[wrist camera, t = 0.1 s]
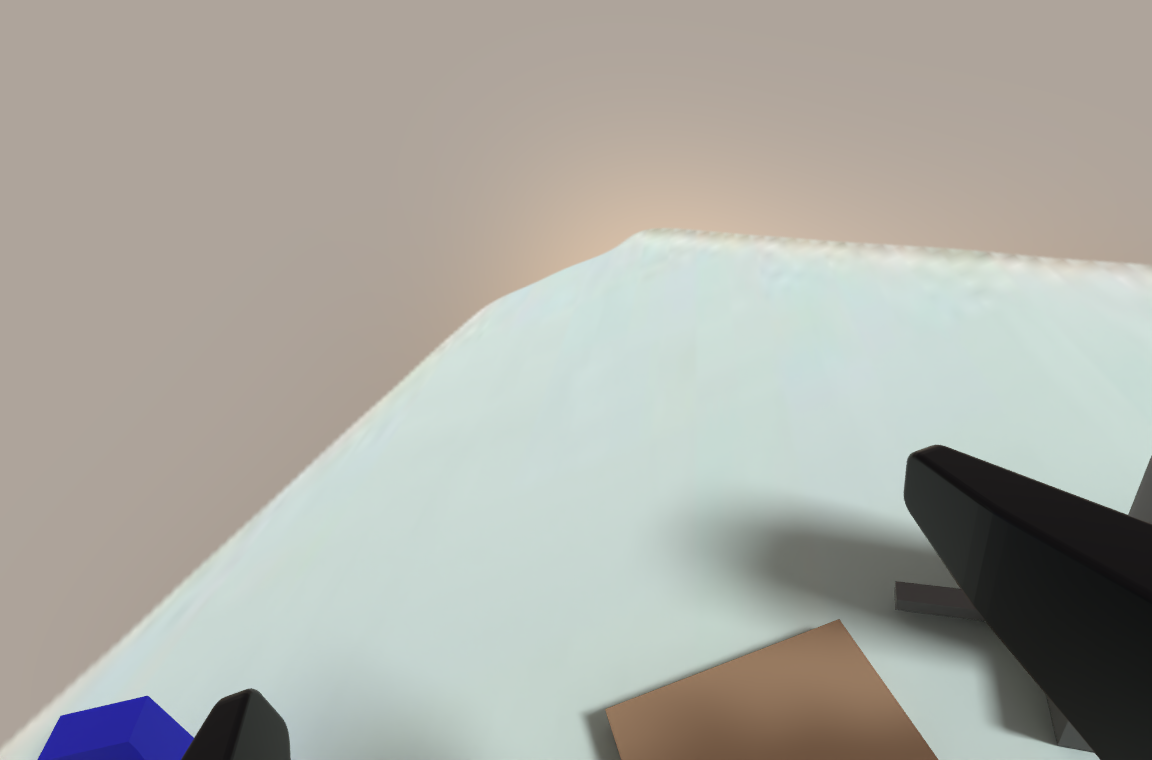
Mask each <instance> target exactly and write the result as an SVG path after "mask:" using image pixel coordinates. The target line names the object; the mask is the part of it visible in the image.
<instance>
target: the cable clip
mask: <svg viewBox="0 0 1152 760" xmlns="http://www.w3.org/2000/svg"><path fill="white" fill-rule="evenodd" d="M193 739H194V738H193V737H192V736H191V735H190V734H189V733H188V732H187V731H186V730H185V729H184V728H183V727H181V726H180V725H179V724H178V723H177V722H176V721H175V720H174V719H173V718H172V717H171V716H169V715H168V714H167V713H166V712H165V711H164V710H163V709H162V708H161V707H160V706H159V705H158V704H156V703H155V702H154V701H153V700H152V699H151V698H150V697H149V696H144V697H140V698H136V699H131V700H127V701H123V702H118V703H114V704H110V705H105V706H101V707H97V708H92V709H88V710H84V711H79V712H75V713H71V714H66V715H62V716H60V718H59V720H58V722H57V724H56V725H55V727H54V729H53V731H52V733H51V735H50V737H49V739H48V741H47V743H46V745H45V747H44V748H43V750H42V752H41V754H40V756H39V758H38V760H181V759H182V757H183V755H184V754H185V752H186V751H187V749H188V747H189V746H190V744H191V743H192V741H193Z"/></svg>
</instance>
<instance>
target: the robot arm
mask: <svg viewBox="0 0 1152 760" xmlns="http://www.w3.org/2000/svg"><path fill="white" fill-rule="evenodd" d="M904 500H905V504H906V506H907V508H908V510H909V512H910V514H911V515H912V517H913V518H914V520H915V521H916V523H917V524H918V526H919V527H920V529H921V530H922V532H923V533H924V535H925V536H926V538H927V539H928V540H929V542H930V543H931V545H932V546H933V548H934V549H935V551H936V552H937V554H938V555H939V557H940V558H941V560H942V561H943V563H944V564H945V566H946V567H947V569H948V570H949V572H950V573H951V575H952V576H953V578H954V579H955V581H956V582H957V584H958V585H959V587H960V588H961V590H962V591H963V592H964V594H965V595H966V597H967V598H968V599H969V601H970V602H971V604H972V605H973V606H974V608H975V609H976V610H977V611H978V613H979V614H980V615H981V616H982V618H983V619H984V620H985V621H986V623H987V624H988V625H989V626H990V627H991V629H992V630H993V631H994V632H995V633H996V635H997V636H998V637H999V638H1000V639H1001V641H1002V642H1003V643H1004V644H1005V645H1006V647H1007V648H1008V649H1009V650H1010V651H1011V653H1012V654H1013V655H1014V656H1015V657H1016V659H1017V660H1018V661H1019V662H1020V663H1021V665H1022V666H1023V667H1024V668H1025V669H1026V671H1027V672H1028V673H1029V674H1030V675H1031V677H1032V678H1033V679H1034V680H1035V682H1036V683H1037V684H1038V685H1039V686H1040V688H1041V689H1042V690H1043V691H1044V692H1045V694H1046V695H1047V696H1048V697H1049V698H1050V700H1051V701H1052V702H1053V703H1054V704H1055V706H1056V707H1057V708H1058V709H1059V710H1060V712H1061V713H1062V714H1063V715H1064V716H1065V718H1066V719H1067V720H1068V721H1069V722H1070V724H1071V725H1072V726H1073V727H1074V728H1075V730H1076V731H1077V732H1078V733H1079V734H1080V736H1081V737H1082V738H1083V739H1084V740H1085V742H1086V743H1087V744H1088V745H1089V746H1090V748H1091V749H1092V750H1093V751H1094V752H1095V754H1096V755H1097V756H1098V757H1099V758H1100V760H1152V524H1150V523H1148V522H1145V521H1142V520H1140V519H1137V518H1134V517H1132V516H1129V515H1126V514H1124V513H1121V512H1118V511H1116V510H1113V509H1111V508H1108V507H1105V506H1103V505H1100V504H1097V503H1095V502H1092V501H1089V500H1087V499H1084V498H1081V497H1079V496H1076V495H1073V494H1071V493H1068V492H1065V491H1063V490H1060V489H1057V488H1055V487H1052V486H1050V485H1047V484H1044V483H1042V482H1039V481H1036V480H1034V479H1031V478H1028V477H1026V476H1023V475H1020V474H1018V473H1015V472H1012V471H1010V470H1007V469H1004V468H1002V467H999V466H996V465H994V464H991V463H988V462H986V461H983V460H981V459H978V458H975V457H973V456H970V455H967V454H965V453H962V452H959V451H957V450H954V449H951V448H949V447H946V446H942V445H933V446H929V447H927V448H924V449H921V450H918V451H915V452H913V453H911V454H910V456H909V457H908V459H907V465H906V475H905V485H904ZM181 760H291V758H290V741H289V733H288V729H287V726H286V724H285V722H284V720H283V718H282V717H281V716H280V715H279V714H278V713H277V711H276V710H275V709H274V708H273V707H272V706H271V705H270V704H269V702H268V701H267V700H266V699H265V698H264V697H263V696H262V694H261V693H260V692H259V691H257V690H255V689H252V688H251V689H246V690H243V691H240V692H238V693H235V694H232V695H229V696H226V697H224V698H222V699H221V700H220V701H218V702H217V704H216V705H215V706H214V707H213V709H212V710H211V712H210V714H209V715H208V717H207V718H206V720H205V722H204V723H203V725H202V726H201V728H200V730H199V731H198V733H197V735H196V736H195V738H194V739H193V741H192V743H191V744H190V746H189V747H188V749H187V751H186V752H185V754H184V755H183V757H182V759H181Z"/></svg>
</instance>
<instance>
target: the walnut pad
mask: <svg viewBox="0 0 1152 760" xmlns="http://www.w3.org/2000/svg"><path fill="white" fill-rule="evenodd" d="M605 711H606V714H607V717H608V720H609V723H610V726H611V729H612V732H613V736H614V739H615V742H616V745H617V748H618V751H619V754H620V757H621V760H938V758H937V757H936V756H935V754H934V753H933V751H932V750H931V749H930V747H929V746H928V744H927V743H926V741H925V740H924V739H923V737H922V736H921V734H920V733H919V732H918V730H917V729H916V727H915V726H914V724H913V723H912V722H911V720H910V719H909V717H908V716H907V715H906V713H905V712H904V710H903V709H902V707H901V706H900V705H899V703H898V702H897V700H896V699H895V698H894V696H893V695H892V693H891V692H890V690H889V689H888V688H887V686H886V685H885V683H884V682H883V681H882V679H881V678H880V676H879V675H878V674H877V672H876V671H875V669H874V668H873V666H872V665H871V664H870V662H869V661H868V659H867V658H866V657H865V655H864V654H863V652H862V651H861V649H860V648H859V647H858V645H857V644H856V642H855V641H854V640H853V638H852V637H851V635H850V634H849V632H848V631H847V630H846V628H845V627H844V625H843V624H842V623H841V621H840V620H839V619H838V620H836V621H833V622H831V623H828V624H825V625H823V626H820V627H818V628H815V629H812V630H810V631H807V632H805V633H802V634H799V635H797V636H794V637H792V638H789V639H786V640H784V641H781V642H779V643H776V644H773V645H771V646H768V647H766V648H763V649H760V650H758V651H755V652H753V653H750V654H747V655H745V656H742V657H739V658H737V659H734V660H732V661H729V662H726V663H724V664H721V665H719V666H716V667H713V668H711V669H708V670H706V671H703V672H700V673H698V674H695V675H693V676H690V677H687V678H685V679H682V680H680V681H677V682H674V683H672V684H669V685H667V686H664V687H661V688H659V689H656V690H654V691H651V692H648V693H646V694H643V695H641V696H638V697H635V698H633V699H630V700H628V701H625V702H622V703H620V704H617V705H615V706H612V707H609V708H607V709H605Z"/></svg>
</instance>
